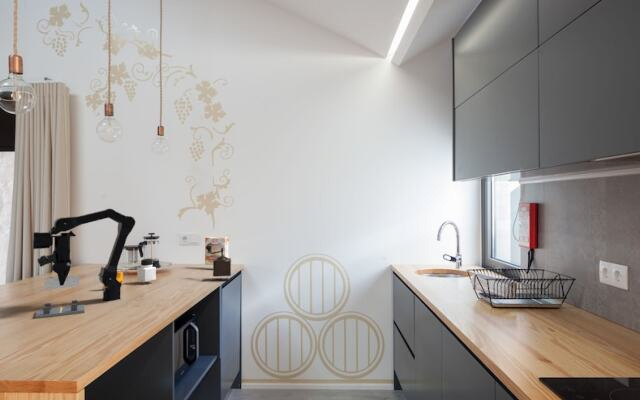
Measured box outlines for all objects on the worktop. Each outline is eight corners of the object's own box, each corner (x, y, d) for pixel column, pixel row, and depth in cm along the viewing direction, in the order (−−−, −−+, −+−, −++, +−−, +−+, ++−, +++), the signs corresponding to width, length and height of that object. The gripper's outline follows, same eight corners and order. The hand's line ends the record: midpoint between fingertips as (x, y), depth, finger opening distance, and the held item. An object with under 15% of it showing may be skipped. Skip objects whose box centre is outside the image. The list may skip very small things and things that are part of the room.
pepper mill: (231, 272, 247) (231, 244, 247) (230, 276, 236) (230, 246, 236) (205, 273, 244) (205, 244, 244) (203, 276, 233) (203, 246, 234)
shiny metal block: (77, 284, 172) (77, 275, 172) (79, 285, 169) (79, 276, 169) (44, 288, 165) (44, 278, 165) (44, 289, 162) (45, 279, 162)
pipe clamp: (115, 283, 214) (115, 271, 214) (123, 284, 214) (123, 272, 214) (100, 288, 202) (100, 275, 203) (108, 288, 202) (108, 276, 202)
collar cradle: (84, 307, 166) (84, 298, 166) (84, 312, 157) (84, 303, 157) (37, 312, 158) (37, 303, 158) (35, 318, 149) (35, 309, 149)
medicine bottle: (156, 279, 225) (156, 258, 225) (144, 281, 219) (144, 260, 219) (148, 278, 229) (148, 257, 229) (137, 280, 223) (137, 259, 223)
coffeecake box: (204, 265, 278) (204, 237, 278) (209, 263, 285) (209, 236, 285) (224, 265, 276) (224, 237, 276) (228, 264, 283) (228, 236, 283)
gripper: (41, 246, 171) (40, 282, 171) (36, 250, 155) (36, 290, 155) (71, 245, 177) (71, 280, 176) (70, 249, 161) (70, 287, 160)
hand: (62, 284), depth 167 cm, fingers closed on shiny metal block, 4 cm apart
